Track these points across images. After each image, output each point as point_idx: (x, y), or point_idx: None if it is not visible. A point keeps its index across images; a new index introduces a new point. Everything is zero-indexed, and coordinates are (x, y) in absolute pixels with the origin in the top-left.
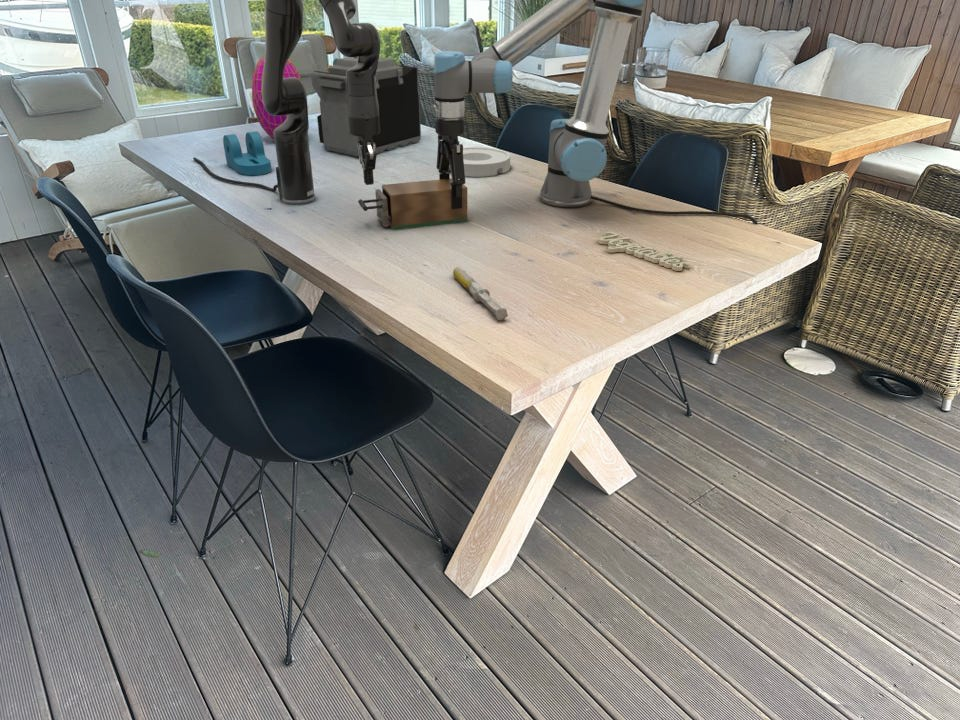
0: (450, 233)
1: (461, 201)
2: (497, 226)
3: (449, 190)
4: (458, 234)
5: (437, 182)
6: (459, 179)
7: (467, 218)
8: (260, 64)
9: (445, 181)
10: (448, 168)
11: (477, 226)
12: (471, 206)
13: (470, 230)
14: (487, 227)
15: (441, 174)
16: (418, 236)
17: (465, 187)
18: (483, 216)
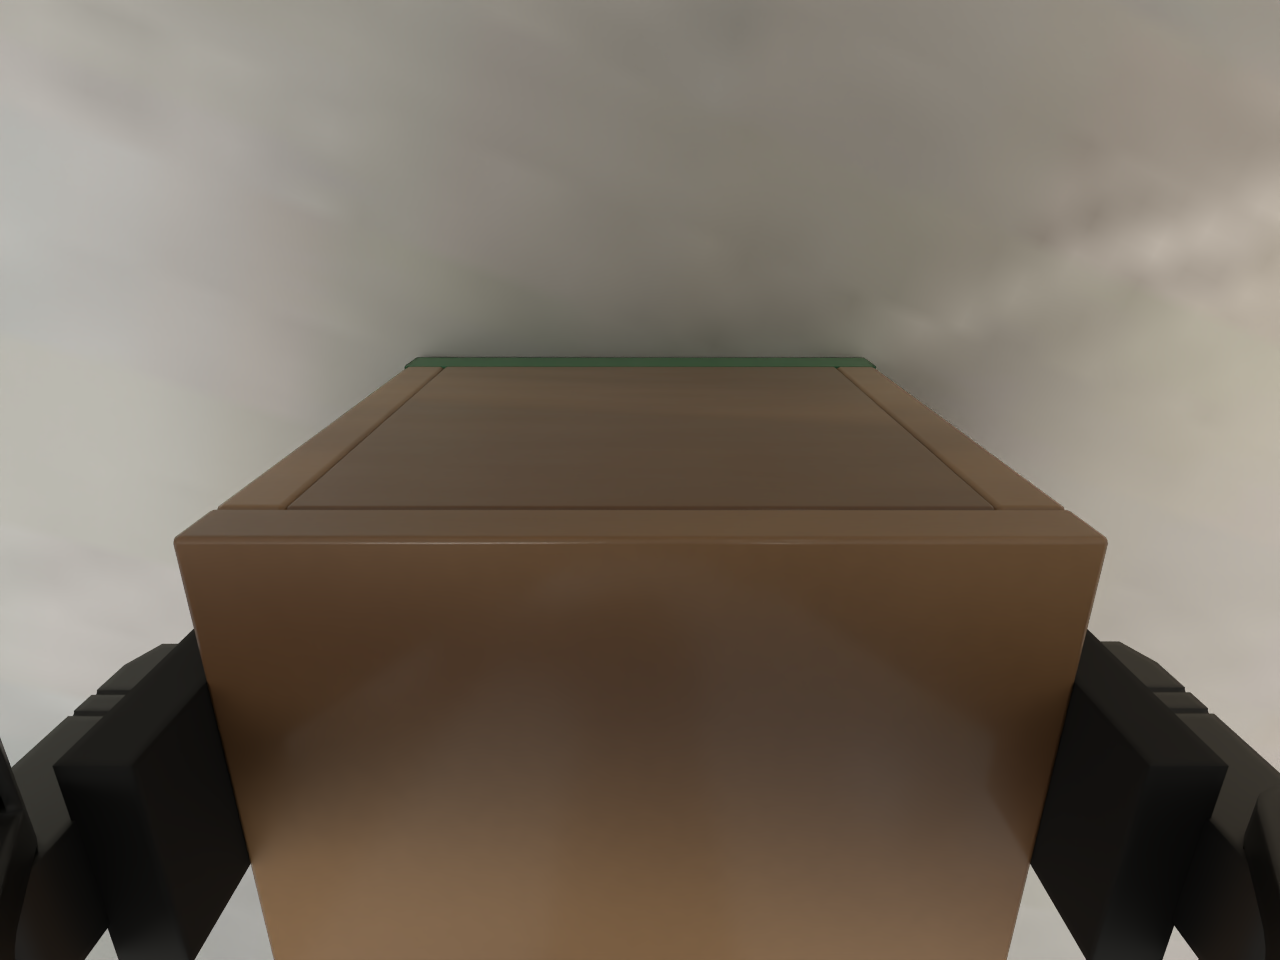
0: (1123, 643)
1: None
2: (1227, 28)
3: (1016, 880)
4: (1194, 582)
5: (469, 957)
6: (1273, 924)
7: (874, 366)
8: None
9: (435, 819)
10: (2, 917)
11: (1082, 301)
12: (278, 79)
13: (1159, 427)
14: (1183, 187)
15: (186, 943)
16: (1039, 892)
17: (1075, 578)
18: (760, 69)
